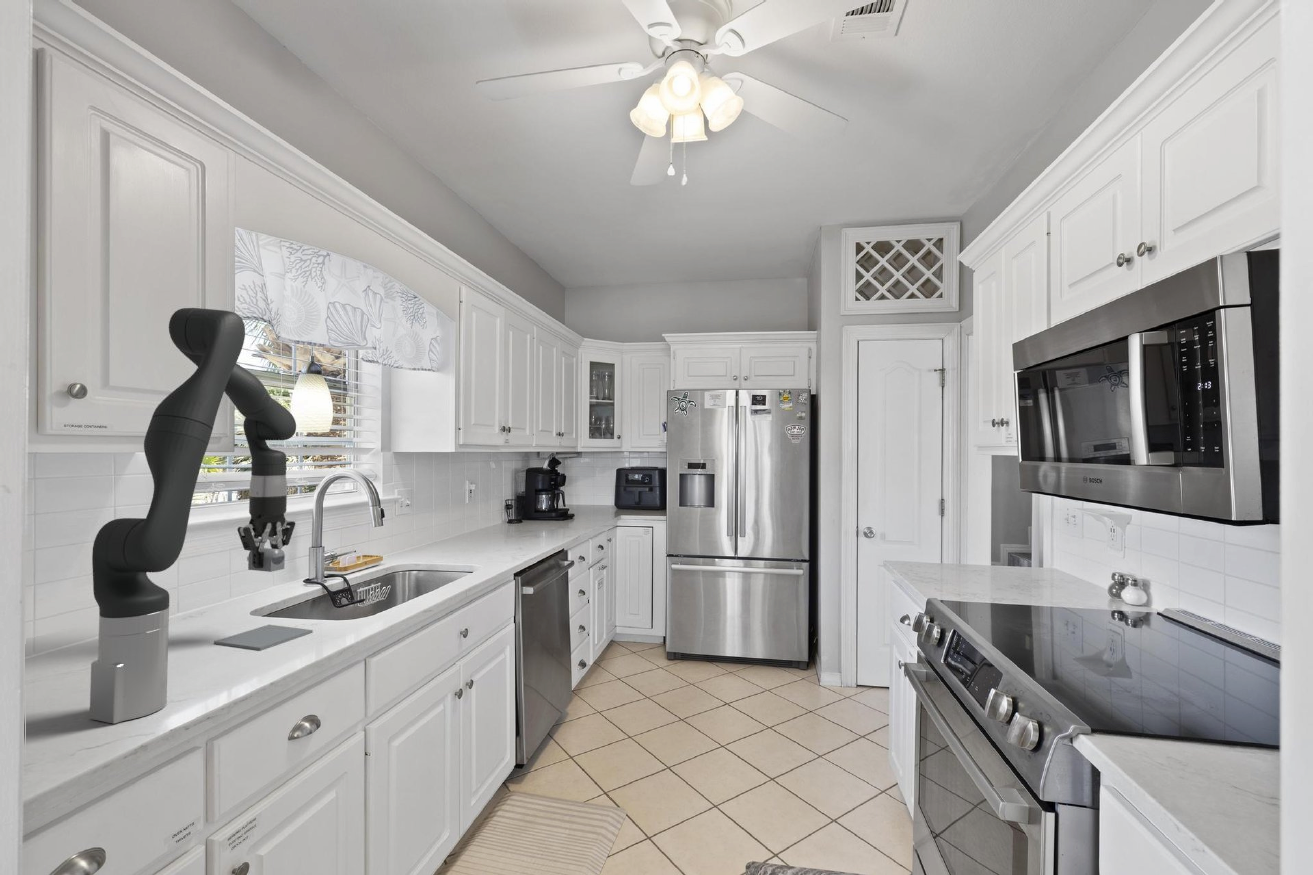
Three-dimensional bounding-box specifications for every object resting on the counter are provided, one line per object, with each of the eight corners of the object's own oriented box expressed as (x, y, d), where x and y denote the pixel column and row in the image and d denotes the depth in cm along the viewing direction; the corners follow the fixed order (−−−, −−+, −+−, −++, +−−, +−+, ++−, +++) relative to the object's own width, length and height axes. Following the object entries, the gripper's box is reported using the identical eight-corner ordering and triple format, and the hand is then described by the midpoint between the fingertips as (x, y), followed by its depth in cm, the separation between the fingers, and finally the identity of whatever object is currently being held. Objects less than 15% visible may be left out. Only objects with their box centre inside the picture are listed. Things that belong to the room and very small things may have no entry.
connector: (270, 571, 142) (271, 550, 142) (244, 569, 144) (244, 548, 144) (284, 569, 145) (284, 548, 145) (258, 566, 147) (258, 546, 147)
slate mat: (260, 650, 135) (260, 647, 135) (214, 643, 139) (214, 641, 139) (312, 632, 149) (312, 630, 149) (268, 626, 153) (268, 624, 153)
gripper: (252, 496, 137) (250, 573, 136) (305, 492, 150) (304, 562, 150) (228, 495, 139) (226, 570, 139) (282, 491, 152) (280, 560, 152)
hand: (266, 565), depth 144 cm, fingers closed on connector, 3 cm apart
